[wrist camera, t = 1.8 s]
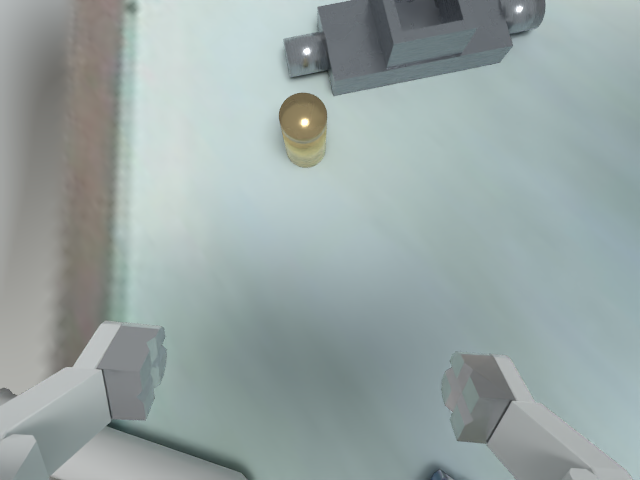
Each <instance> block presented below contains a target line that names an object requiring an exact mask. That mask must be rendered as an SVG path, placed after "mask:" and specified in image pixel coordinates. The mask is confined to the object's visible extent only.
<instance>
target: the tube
mask: <svg viewBox="0 0 640 480" xmlns="http://www.w3.org/2000/svg"><path fill="white" fill-rule="evenodd" d="M16 396H17V395H15V394H12V392H11V391H10V390H9V389H6V388H2V389H0V406H1V405H3V404H4V403H6V402H8V401H10V400H11V399H13V398H15V397H16ZM51 477H54V478H56V479H59V480H248V479H247V478H246V477H245V476H244V475H243V474H242V473H240V472H237V471H235V470H232V469H229V468H226V467H223V466H220V465H217V464H214V463H211V462H208V461H206V460H203V459H200V458H197V457H194V456H191V455H188V454H185V453H182V452H180V451H177V450H174V449H171V448H168V447H165V446H162V445H159V444H156V443H153V442H151V441H148V440H145V439H142V438H139V437H136V436H133V435H130V434H127V433H125V432H122V431H119V430H116V429H113V428H110V427H107V426H105V427H104V428H103V429H102V430H101V431H100V432H99V433H98V434H96V435H95V436H94V437H93V438H92V439H91V440H90V441H89V442H88V443H86V444H85V445H84V446H83V447H82V448H81V449H80V450H79V451H77V452H76V453H75V454H74V455H73V456H72V457H71V458H70V459H69V460H67V461H66V462H65V463H64V464H63V465H62V466H61V467H60V468H59V469H57V470H56V471H55V472H54V473H53V474H52V475H51Z"/></svg>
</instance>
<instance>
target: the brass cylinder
mask: <svg viewBox="0 0 640 480" xmlns="http://www.w3.org/2000/svg"><path fill="white" fill-rule="evenodd" d="M279 120H280V125H281V129H282V134H283V138H284V142H285V147H286V151H287V155H288V157H289V159H290V160H291V162H293V163H294V164H295V165H297V166H299V167H304V168H308V167H312V166H315V165H317V164H318V163H319V162H320V161H321V160H322V159H323V157H324V154H325V146H326V127H327V111H326V108H325V105H324V104H323V102H322V101H321V100H320V99H319V98H318V97H316V96H314V95H312V94H309V93H297V94H294V95H292V96H290V97H289V98H287V99H286V100H285V101H284V102H283V104H282V106H281V108H280V111H279Z"/></svg>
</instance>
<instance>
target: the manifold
mask: <svg viewBox="0 0 640 480" xmlns="http://www.w3.org/2000/svg"><path fill="white" fill-rule="evenodd" d="M544 14H545V0H351V1H346V2H341V3H336V4H330V5H325V6H320V7H318V31H319V32H316V33H311V34H306V35H301V36H295V37H290V38H285V39H283V42H284V48H285V54H286V59H287V64H288V69H289V73H290V77H295V76H300V75H305V74H310V73H315V72H320V71H325V70H328V74H329V78H330V83H331V87H332V92H333V96H336V95H341V94H346V93H351V92H356V91H361V90H366V89H370V88H375V87H380V86H385V85H390V84H395V83H400V82H405V81H410V80H415V79H420V78H425V77H430V76H435V75H440V74H445V73H450V72H455V71H460V70H465V69H470V68H475V67H480V66H485V65H490V64H495V63H500V61H501V60H502V59H503V58H504V56H505V55H506V54H507V53H508V51H509V50H510V49H511V48H512V46H513V44H512V41H511V37H510V34H512V33H517V32H522V31H527V30H532V29H536V28H537V27H538V26H539V25H540V24H541V22H542V20H543V17H544Z"/></svg>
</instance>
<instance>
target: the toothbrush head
mask: <svg viewBox="0 0 640 480" xmlns="http://www.w3.org/2000/svg"><path fill="white" fill-rule="evenodd" d="M430 480H454V479H452V478H451V477H450V476H448V475H447V474H445V473H444V472H442V471H441V470H440V469H439V470H438V471H437V472H436V473H434V474H433V476H432V478H431V479H430Z"/></svg>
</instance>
